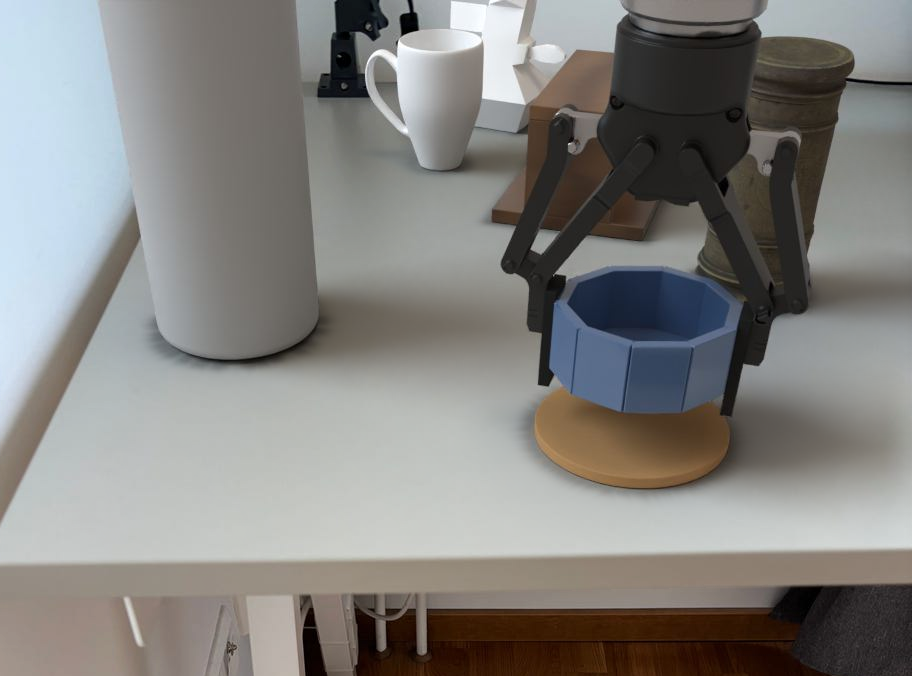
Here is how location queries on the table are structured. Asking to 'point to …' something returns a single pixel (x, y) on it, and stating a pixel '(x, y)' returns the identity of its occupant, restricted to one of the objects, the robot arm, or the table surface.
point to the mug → (435, 92)
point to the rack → (589, 92)
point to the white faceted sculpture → (506, 59)
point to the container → (773, 109)
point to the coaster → (630, 442)
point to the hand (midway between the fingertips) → (636, 391)
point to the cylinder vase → (218, 169)
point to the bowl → (644, 338)
